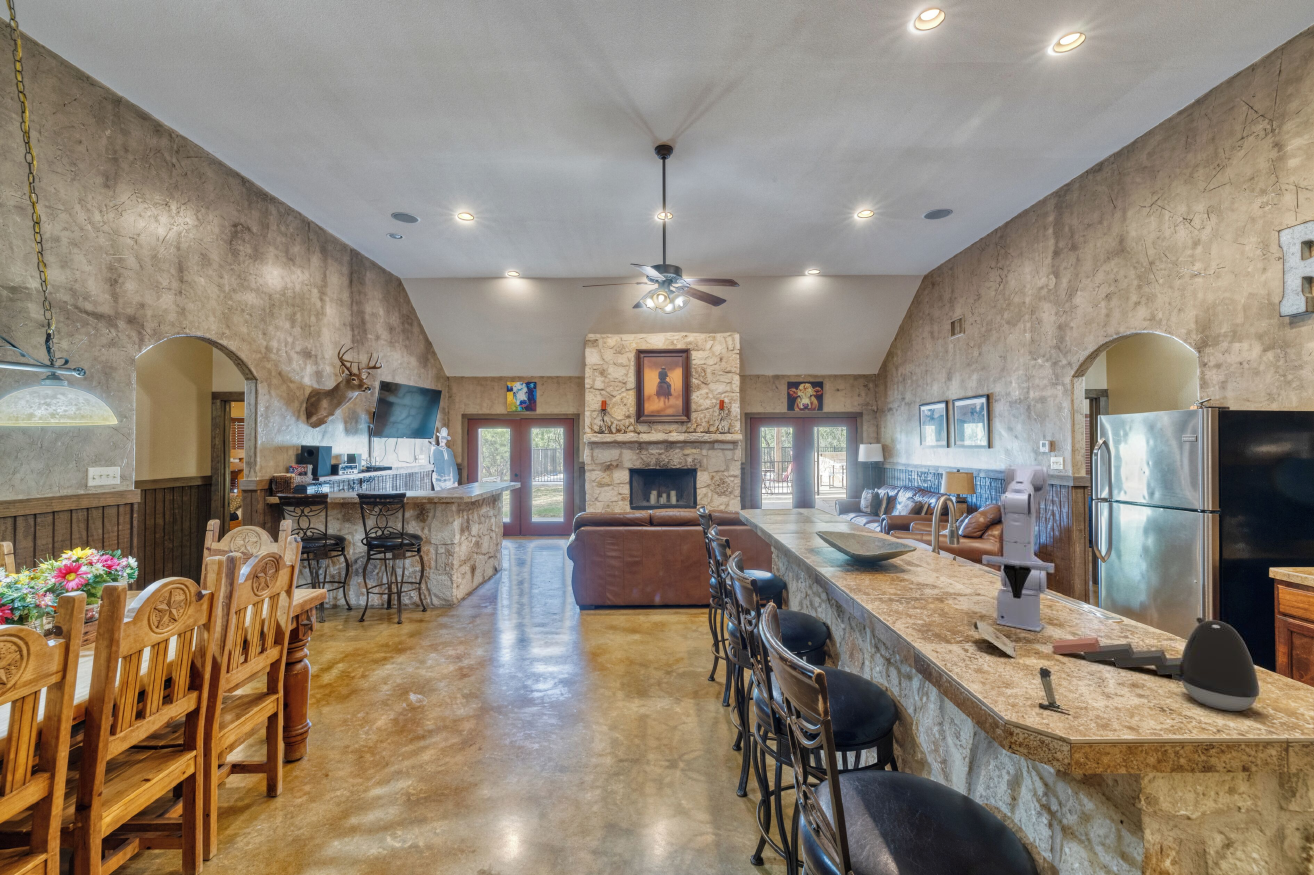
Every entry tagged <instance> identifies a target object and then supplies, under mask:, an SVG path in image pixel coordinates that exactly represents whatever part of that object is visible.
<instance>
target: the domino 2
mask: <svg viewBox="0 0 1314 875" xmlns="http://www.w3.org/2000/svg"><path fill="white" fill-rule="evenodd" d="M1167 658H1168V657H1167V655H1166V653H1165V650H1163V649H1157V650H1156V649H1155V650H1140V651H1134V654H1133V656H1132V658H1120V659H1112V660H1113V662H1114V663H1115V666H1116V668H1134V667H1151V666H1153V667H1155V666H1156V665H1165V664H1166V661H1167Z"/></svg>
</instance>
